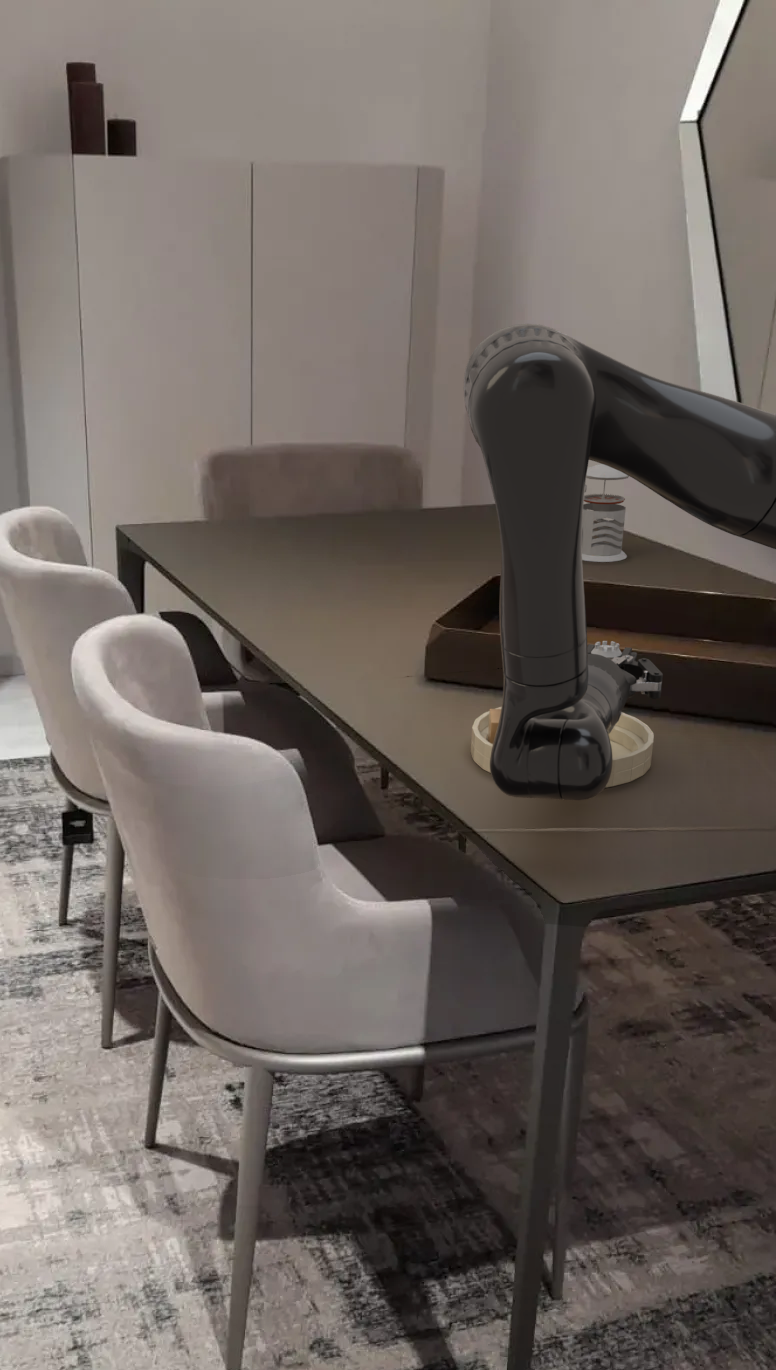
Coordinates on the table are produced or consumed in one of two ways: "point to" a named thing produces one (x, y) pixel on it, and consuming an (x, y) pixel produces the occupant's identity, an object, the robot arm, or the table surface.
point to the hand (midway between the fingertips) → (609, 655)
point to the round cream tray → (626, 742)
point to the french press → (603, 509)
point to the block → (493, 723)
